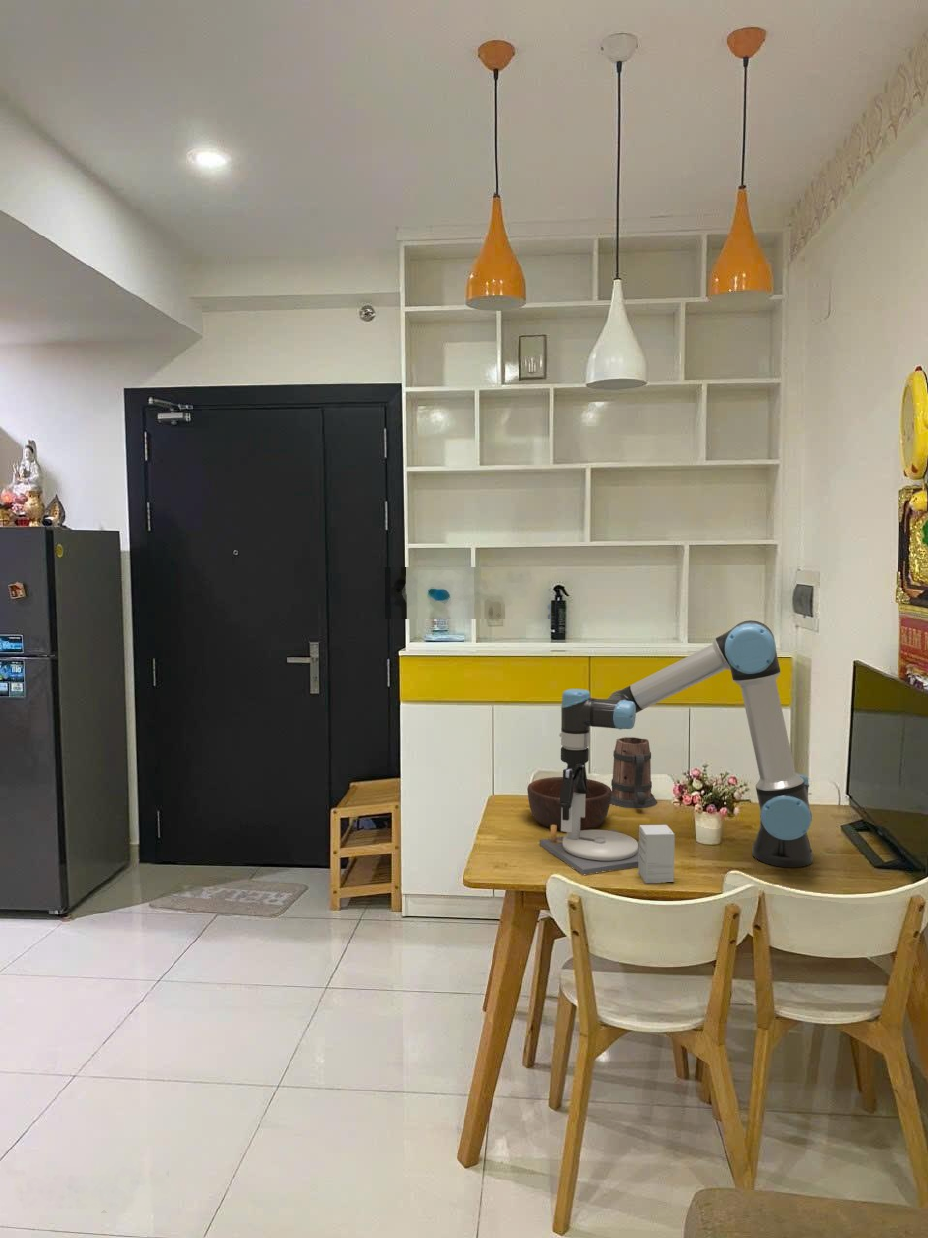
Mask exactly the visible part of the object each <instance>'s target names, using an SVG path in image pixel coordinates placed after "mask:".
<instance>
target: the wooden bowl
mask: <svg viewBox="0 0 928 1238" xmlns="http://www.w3.org/2000/svg"><path fill="white" fill-rule="evenodd" d="M562 780H563V776H555V777H554V776H553V777H546V778H539V779H536V780H534V781H532V782H531V783H529V784H528V786H527V797H528V805H529V809H530V812H531V814H532V816H533V818H534V820H535V822H537V823H538V824H540V825H541V826H543V827H545V828H549V829H551V825H557V830H558V831H561V807H558V804H559V801H560V794H561V787H562ZM587 784H588V790H589V793H584V794H586V796H585V818H583V817H580V831H581V830H593V829H595V828H597V827H599V826H601V824H603V823H604V821H605V819H606V817H607V815H608V812H609V809H610V805H611V804H610V800H611V791H612V788H611V787H610V786H608V785H607V784H606V783H603V782H601V781H598V780H594V779H589V778H587ZM574 793H578V792H577V791H576V787H575V789H574ZM564 803H566V802H564Z"/></svg>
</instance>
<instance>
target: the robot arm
mask: <svg viewBox="0 0 928 1238" xmlns="http://www.w3.org/2000/svg"><path fill="white" fill-rule="evenodd" d="M725 670H726V671H727V670H729V671H730V673H731V677H732V682H734V683H735V684H737V685H739V687H740V690H741V695H742V700H743V704H744V710H745V714H746V719H747V723H748V727H749V732H750V736H751V742H752V746H753V752H754V756H755V761H756V764H757V770H758V775H759V779H758V781H757V782H756V784H755V791H756V795H757V799H758V805H759V809H760V810H759V811H760V813H759V814H760V815H759V818H760V820H759V823H760V825H759V827H758V828H759V829H758V831H757V835H756V837H755V838H756V839H755V841H754V842H753V844H752V846H751V847H752V850H751V851H752V853H751V854H752V857H753V856H754V857H755V860H757V859H758V860H757V861H759V860H760V862H761V861H762V862H761V863H765V864H767V865H770V864H771V866H775V867H781V868H803V867H807V866H809V864H810V865H811V864H812V863H813V856H814V855H813V854H814V853H813V850H812V848H811V844H810V839H809V836H808V830H809V829H810V827H811V824H812V821H813V814H812V811H811V809H810V802H809V788H810V783H809V778H808V776H807V775H805V774H802V773H798V772H796V770H795V765H794V764H795V762H794V760H793V755H792V749H791V745H790V742H789V741H790V740H789V736H788V730H787V726H786V722H785V717H784V712H783V708H782V703H781V702H782V701H781V699H780V693H779V689H778V685H777V679H778V678H779V676H780V674H781V672H782V671H781V667H780V662H779V657H778V653H777V646H776V641H775V636H774V634H773V632H772V630H771V629H770V628H769V627H768V626H767V625H766V624H765V623H763V622H760V621H758V620H745V621H741V622H739V623H737V624H736V625H735V626H733V627H732V628H731V629H729V630H727V631H726V632H725V633H723V634H721V635H719V636H717V637H715V638H714V640H713V642H712V644H710V645H708V646H706V647H704V648H701V649H700V650H698V651H696V652H694V653H692V654H690V655H688V656H686V657H684V658H682V659H679V660H678V661H676V662H674V663H672V664H670V665H668V666H666V667H664V668H662V669H660V670H658V671H656V672H654V673H652V674H650V675H648V676H646V677H644V678H642V679H640V680H638V681H636V682H634V683H632V684H630V685H629V686H626V687H624V688H622V689H619V690H616V691H614V692H613V693H611V695H609V697H608V698H593V697H591V692H590V690H588V689H581V688H569V689H565V690H564V691H563V692H562V698H561V706H560V712H561V714H560V715H561V724H560V726H561V733H559V735H558V736H559V737H560V745H561V747H560V760H561V762H563V763H565V764H567V766H566V768H565V769H563V770H562V777H563V780H562V787H561V794H560V801H559V804H558V807H561V830H560V832H565V833H567V832H572V807H571V803H572V799H573V794H574V789H575V787H576V791H577V792H578V793H579V794H581V816H580V817H583V818H585V796H586V794H584V793H589V790H588V784H587V779H588V778H587V777H588V776H587V769H586V764H587V763H588V762H589V759H590V758H589V757H590V756H589V755H590V749H589V748H588V747H590V727H591V728H592V727H594V728H595V727H596V728H606V729H617V730H632V729H633V728H634V727H635V724H636V718H637V717H636V715H637V713H639V712H641V711H643V710H645V709H647V708H649V707H651V706H653V705H655V704H658V703H659V702H661V701H663V700H666V699H668V698H669V697H672V696H674V695H676V694H678V693H680V692H682V691H684V690H687V689H688V688H691V687H692V686H695V685H697V684H699V683H701V682H703V681H705V680H707V679H709V678H711V677H714V676H715V675H718V674H719V673H723V672H724V671H725ZM564 802H566V803H564ZM754 857H753V858H754ZM806 865H807V866H806ZM802 866H803V867H802Z"/></svg>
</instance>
